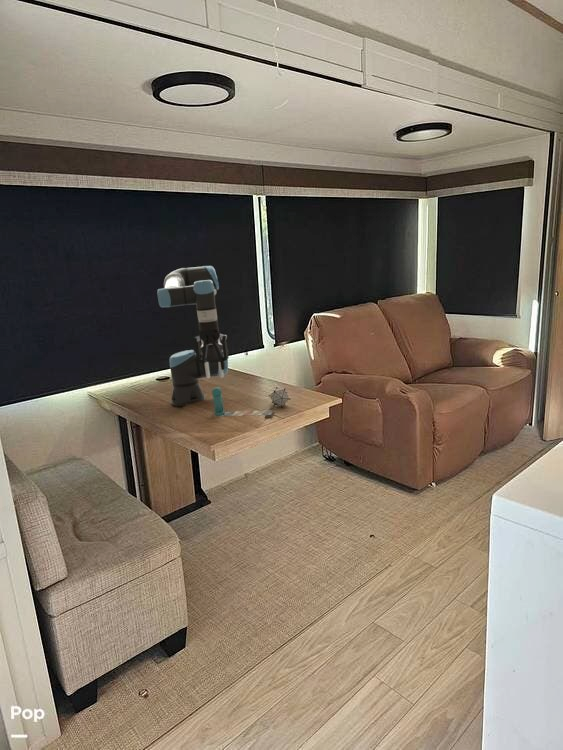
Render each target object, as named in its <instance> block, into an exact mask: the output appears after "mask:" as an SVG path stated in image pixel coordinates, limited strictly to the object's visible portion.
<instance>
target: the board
mask: <svg viewBox="0 0 563 750" xmlns="http://www.w3.org/2000/svg"><path fill="white" fill-rule="evenodd" d="M274 413H275V411H274V409H268V410H265V409H264V410H238V411H235V410H234V411H225V414H224V415H221V416H215V414H214V415H213V417H217V418H218V417H240V416H243V417H244V416H249V417H250V416H265V417H264V419H272V417H273V416H274ZM272 415H273V416H272Z"/></svg>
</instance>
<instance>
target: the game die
mask: <svg viewBox="0 0 563 750" xmlns="http://www.w3.org/2000/svg"><path fill="white" fill-rule="evenodd" d="M267 396H268V397H270V399H271V404H273V405H272V406H273V407H275V406H278V407H280V408H281V409H283V408H284V405H285V404H286V403H287V402H288V401H291V398H289V396H288V392H287V391H286V388H283V389H282V388H278V387H277V386H276V387H275V389H274V390H273V391H272V393H271V394H268V395H267Z"/></svg>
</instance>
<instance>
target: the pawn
mask: <svg viewBox="0 0 563 750" xmlns="http://www.w3.org/2000/svg"><path fill="white" fill-rule="evenodd" d="M222 393H223V391H222V388H221V387H219V386H216V387H213V389H212V390H211V394H212V398H213V400H212V401H213V407H214V412H213V413H214V415H215V416H219V417H222V416H221V415H224V414H225V412H226V411H225V409H224V402H223V395H222Z"/></svg>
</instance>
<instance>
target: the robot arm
mask: <svg viewBox="0 0 563 750" xmlns="http://www.w3.org/2000/svg"><path fill="white" fill-rule="evenodd" d="M218 290H220V286H219V280H218V276H217V273H216V269H215V268H214V266H212V265H203V266H196V267H194V266H193V267H181V268H178V269H176V270H173V271H171V272H170V273H169V274H168V273H167V275H166V276H165V278H164V281H163V288H158V289H157V292H156V293H157V300H158V305H159V307H160V308H172V307H179V306H190V305H196V313H197V314H196V315H197V320H198V329H199V330H198V331H199V334H198V335H197V336H195V337H193V338H192V340H193V342H194V345H195V346H194V347H195V350H194V349H190V350H189V349H188V350H187V349H186V350H182V351H179V352H175V353H174V354H172V355H170V356H169V369H170V374H171V380H172V381H171V382H172V392H171V399H170V402H171V405H172V404H173V405H175V406H174V407H178V406H184V407H185V406H186V405H188V404H194V403H197V402H198V403H199V402H200V401H201V402H202V401H205V399H206V398H205V395H204V392H203V390H202V388H201V385H200V384H199V379H203V378H204V379H205V378H206V379H205V380H209V379H210V378H212V377H219V378H220V379H223V378H224V377H225V375H228V372H229V350H228V342H227V339H228V335H227V334H222V333H221V332H220V328H219V321H218V314H217V313H218V312H217V311H218V310H217V306H216V295H217V291H218ZM200 341H201V343H200ZM173 405H172V406H173Z"/></svg>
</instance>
